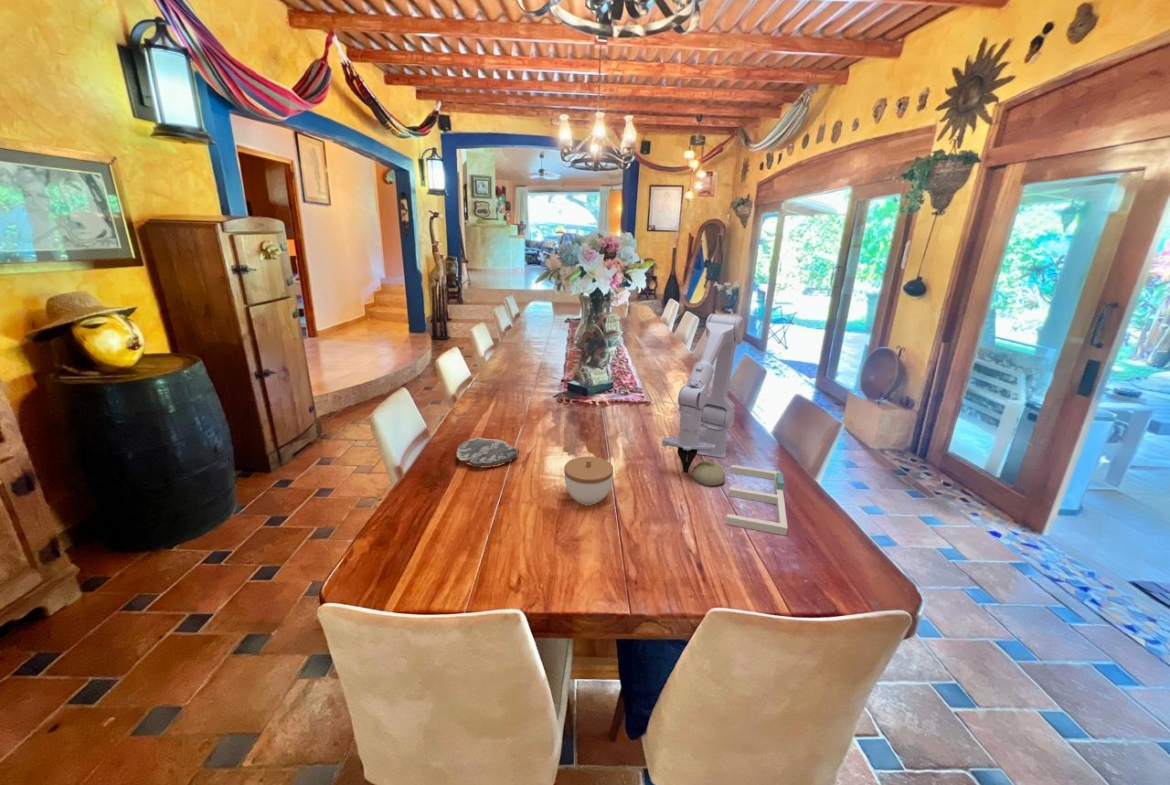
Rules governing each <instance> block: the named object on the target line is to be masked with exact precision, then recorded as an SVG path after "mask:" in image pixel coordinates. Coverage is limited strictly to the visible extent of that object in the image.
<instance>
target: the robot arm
mask: <svg viewBox="0 0 1170 785" xmlns="http://www.w3.org/2000/svg"><path fill="white" fill-rule="evenodd" d="M745 323H746V322H745V320H744V318H743V316H735V315H725V314H718V313H717V314H716V313H713V312H712V313H710V314H709V315H708V317H707V319H706V321H705V326H704V327H705V335H706V341H705V345H704V348H703V350H702V354H701V357H700V360H699V361H698V362H695V363H694V365H693V367H692V370H691V373H689V377H688V379H687V382H686V385H684V386H682V387H681V388H680V390H679V392H678V396H677V404H678V410H679V412H680V414H679V415H680V418H679V428H678V437H664V436H663V438H662V441H661V447H666V446H667V447H668V446H669V447H674V448H677V455H678V457H679V459H680V463H681V466H682V472H683V473H684V474H685V473H686V474H688V473H689V470H690V467H691V465H692V463H693V460H695V458H696V457H697V455H701V456H709V457H714V458H722V459H725V458H726V455H727V446H726V442H727V432H728V429H730V428H731V427H732V426H733V424H734V421H735V416H736V413H735V412H736V410H735V408H736V404H735V403H734V402H733V401H732V400H731V399H730V398H729V397H728V395H729V388H730V383H731V382H730V381H731V376H732V371H733V370H732V369H733V364H734V363H733V362H734V356H735V352H736V346H737V345H741V344H742V342H743V338H744V335H745V334H744V333H745V326H746V325H745ZM715 361H716V362H715ZM714 363H715V368H714V367H713V365H714ZM712 378H713V380H712ZM711 381H712V386H711V388H712V389H711V394H710V395H709V396H708V394H709V386H710V383H711Z"/></svg>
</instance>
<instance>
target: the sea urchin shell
mask: <svg viewBox="0 0 1170 785" xmlns="http://www.w3.org/2000/svg"><path fill="white" fill-rule="evenodd" d="M691 475H692V477H693V479H694V480H695V481H697V482H698V483H700V484H702V485H705V486H718V485H721V484H722V483H723V482H725V481H726V480H725V479H726V473H725V471H724V469H723V468H722V466H721V465H720V464H719V463H717V462H714V461H709V460H703V461H701V462H699V463H697V464H696V465H694V467H693V468H692V472H691Z"/></svg>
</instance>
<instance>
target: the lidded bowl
mask: <svg viewBox="0 0 1170 785" xmlns="http://www.w3.org/2000/svg"><path fill="white" fill-rule="evenodd" d="M563 472H564V482H565V486H566V487H565V488H566V490H567V492H568V494H569V495H570V496H571V498H572V499H573V500H575V502H576V501H578V502H580V503H581V504H580V505H582V504H587V505H586V506H592V505H591V504H595V505H597V504H596V503H598V502H599V503H601V501H602V500H604V499H605V498H606V497H607V495H608V494H609V492H610V490H611V487H612V485H613V484H612V482H613V475H614V474H613V473H614V466H613V464H612V463H611V462H609V461H608V460H606V459H604V458H601V457H597V456H580V457H575V458H573V459H571V460H569V461H567V462H566V463H565V465H564V469H563ZM578 502H577V503H578ZM599 503H598V504H599Z"/></svg>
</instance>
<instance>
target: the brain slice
mask: <svg viewBox="0 0 1170 785" xmlns="http://www.w3.org/2000/svg"><path fill="white" fill-rule="evenodd" d="M519 454H520V449H519V448H518V447H514V446H511V445H510V444H508V443H507V442H506V441H505V440H501V439H497V438H484V437H474V438H471V439H468V440H466V441H463V442H462V443H460V444H458V447H457V448H456V458H458V460H459V461H462V462H464V463H465V462H466V463H471V464H472V467H474V466H475V467H474V468H476V467H481V466H490V465H491V466H492V465H498V464H502V463H505V462H506V463H509V462H508V461H510V460H512V459H513V458H514V459H516V457H517V456H518V455H519ZM514 459H513V460H514ZM513 460H512V461H513ZM510 462H511V461H510ZM466 463H465V464H466ZM506 463H505V464H506Z"/></svg>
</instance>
